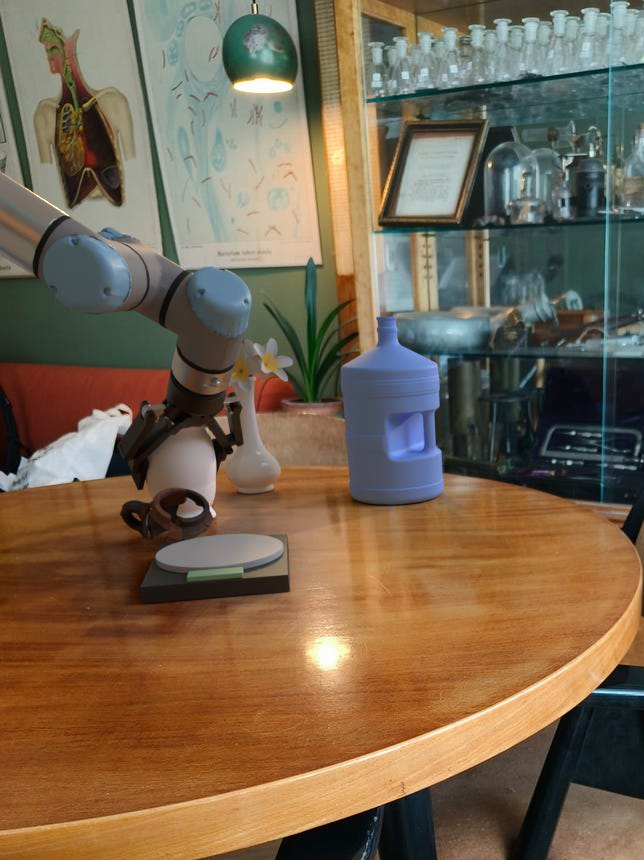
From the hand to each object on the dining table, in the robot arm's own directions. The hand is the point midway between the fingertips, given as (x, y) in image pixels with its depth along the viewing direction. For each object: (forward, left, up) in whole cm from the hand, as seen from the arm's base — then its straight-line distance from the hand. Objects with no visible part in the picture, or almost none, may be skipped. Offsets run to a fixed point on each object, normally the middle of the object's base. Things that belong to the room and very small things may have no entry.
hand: (174, 477), depth 134 cm
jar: (+1, -3, -6) cm, 7 cm away
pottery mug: (0, -15, -6) cm, 17 cm away
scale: (+8, -34, -6) cm, 35 cm away
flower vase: (+10, +16, -6) cm, 20 cm away
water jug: (+34, +4, -6) cm, 35 cm away
